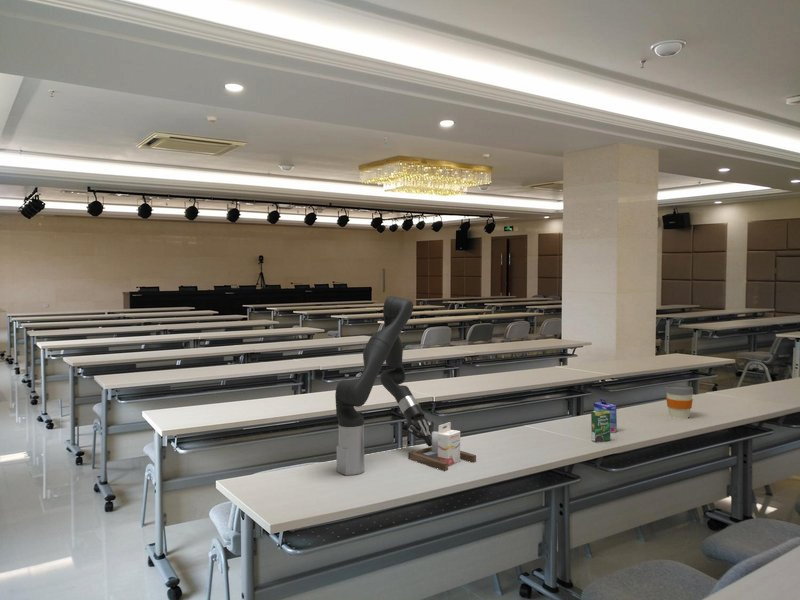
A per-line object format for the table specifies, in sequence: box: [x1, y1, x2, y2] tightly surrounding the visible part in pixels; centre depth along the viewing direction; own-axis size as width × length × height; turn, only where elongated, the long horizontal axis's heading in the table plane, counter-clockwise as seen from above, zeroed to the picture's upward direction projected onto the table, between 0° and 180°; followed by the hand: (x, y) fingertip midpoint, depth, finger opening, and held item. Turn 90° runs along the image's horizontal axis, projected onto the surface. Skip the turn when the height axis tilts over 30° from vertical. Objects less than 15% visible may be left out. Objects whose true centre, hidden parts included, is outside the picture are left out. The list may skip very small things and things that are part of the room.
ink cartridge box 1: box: [437, 421, 461, 467], centre depth 228 cm, size 9×5×15 cm, turn 141°
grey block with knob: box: [423, 430, 438, 460], centre depth 234 cm, size 12×4×10 cm, turn 130°
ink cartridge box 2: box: [593, 398, 618, 434], centre depth 275 cm, size 10×6×14 cm, turn 21°
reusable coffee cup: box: [665, 384, 694, 419], centre depth 300 cm, size 13×13×15 cm
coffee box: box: [590, 410, 611, 443], centre depth 257 cm, size 8×3×13 cm, turn 108°
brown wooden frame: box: [407, 446, 477, 472], centre depth 232 cm, size 17×20×2 cm
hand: (431, 445), depth 236 cm, fingers closed
